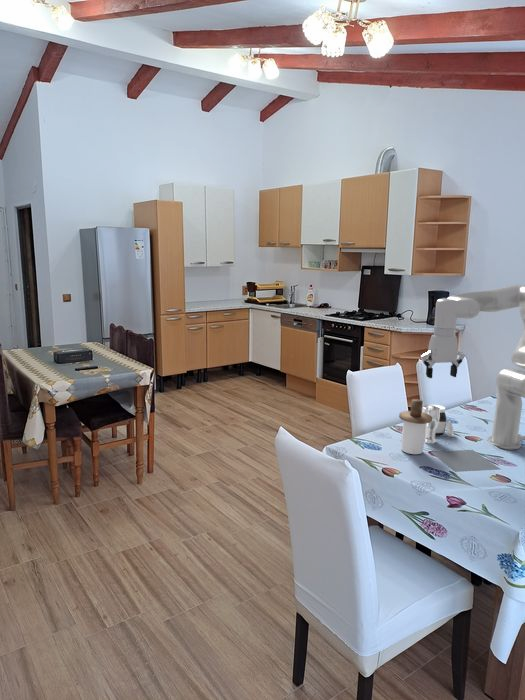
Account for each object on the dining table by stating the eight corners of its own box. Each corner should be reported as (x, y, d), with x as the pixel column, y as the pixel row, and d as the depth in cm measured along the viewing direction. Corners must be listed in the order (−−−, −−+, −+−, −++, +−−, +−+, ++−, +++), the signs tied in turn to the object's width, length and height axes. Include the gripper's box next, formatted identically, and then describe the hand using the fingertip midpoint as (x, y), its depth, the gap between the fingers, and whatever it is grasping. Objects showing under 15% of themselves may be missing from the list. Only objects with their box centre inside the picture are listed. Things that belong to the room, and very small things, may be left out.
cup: (396, 450, 202) (399, 415, 200) (414, 448, 205) (418, 413, 202) (408, 458, 195) (412, 422, 192) (427, 456, 197) (431, 421, 194)
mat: (472, 451, 203) (472, 449, 203) (500, 471, 186) (500, 469, 186) (429, 453, 200) (430, 451, 200) (454, 473, 183) (455, 471, 183)
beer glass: (437, 446, 208) (441, 410, 205) (419, 444, 209) (423, 409, 206) (435, 440, 214) (439, 405, 211) (418, 438, 216) (421, 404, 213)
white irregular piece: (422, 428, 228) (424, 403, 226) (448, 429, 228) (450, 404, 226) (429, 438, 216) (432, 411, 214) (457, 439, 216) (460, 413, 214)
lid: (422, 412, 204) (424, 395, 202) (438, 423, 192) (439, 405, 191) (393, 413, 202) (395, 396, 200) (408, 424, 190) (409, 405, 189)
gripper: (460, 329, 197) (457, 373, 200) (418, 331, 194) (415, 375, 197) (471, 333, 189) (467, 378, 193) (427, 334, 186) (424, 380, 190)
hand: (441, 376), depth 195 cm, fingers open, 9 cm apart
